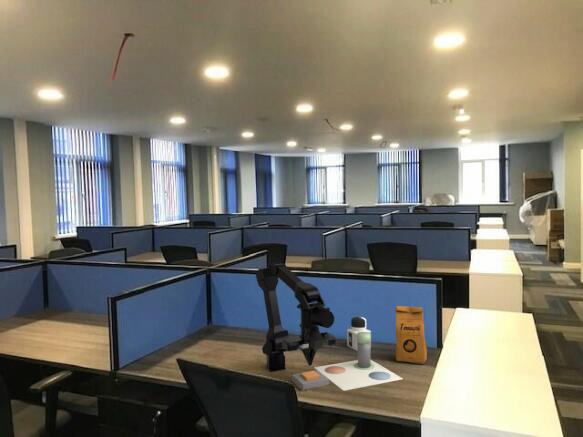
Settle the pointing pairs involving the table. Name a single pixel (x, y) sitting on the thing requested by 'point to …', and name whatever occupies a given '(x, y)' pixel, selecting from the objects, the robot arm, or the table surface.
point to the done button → (310, 375)
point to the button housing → (311, 383)
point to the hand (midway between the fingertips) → (309, 365)
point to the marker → (363, 349)
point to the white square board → (356, 374)
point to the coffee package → (410, 335)
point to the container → (356, 331)
